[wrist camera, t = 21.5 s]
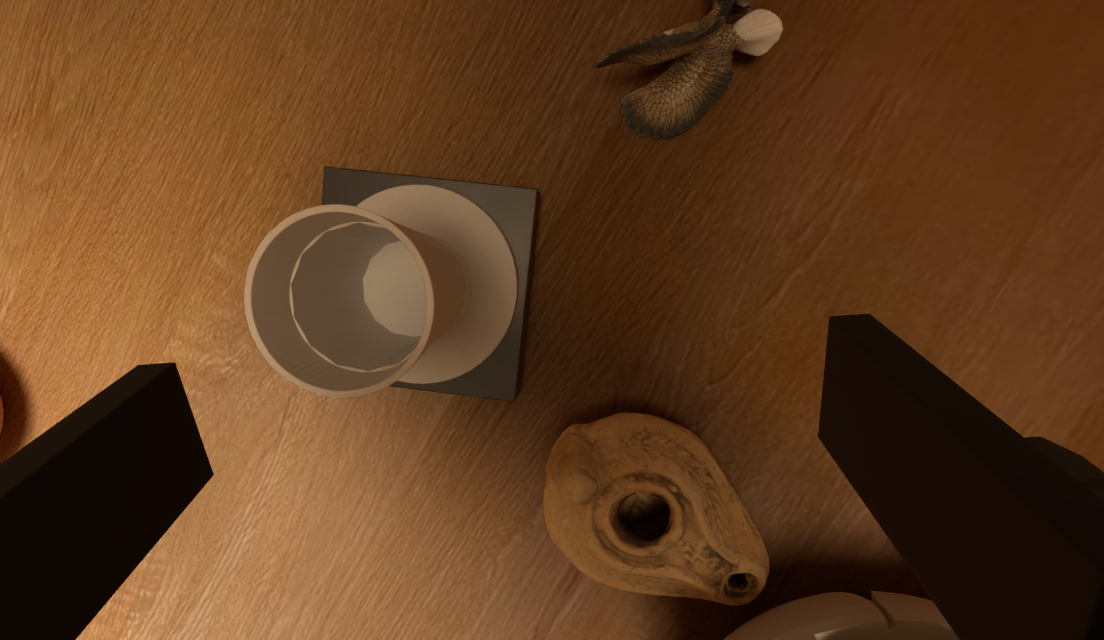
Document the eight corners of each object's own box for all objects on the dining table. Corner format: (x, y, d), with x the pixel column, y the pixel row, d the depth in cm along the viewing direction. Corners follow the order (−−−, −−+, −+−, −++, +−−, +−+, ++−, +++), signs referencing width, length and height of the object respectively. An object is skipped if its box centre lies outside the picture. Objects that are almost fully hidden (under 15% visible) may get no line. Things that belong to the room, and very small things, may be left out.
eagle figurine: (663, -56, 36) (564, 59, 36) (753, -82, 30) (637, 55, 30) (723, 49, 41) (636, 153, 40) (812, 44, 35) (712, 166, 34)
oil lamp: (725, 607, 42) (757, 691, 34) (517, 521, 42) (500, 585, 34) (794, 461, 40) (845, 512, 32) (579, 373, 40) (576, 402, 33)
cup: (339, 331, 38) (226, 368, 26) (370, 204, 37) (266, 181, 25) (465, 367, 38) (407, 421, 26) (498, 240, 37) (455, 234, 25)
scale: (540, 192, 39) (536, 187, 36) (519, 393, 41) (513, 404, 38) (333, 170, 40) (313, 164, 37) (320, 368, 42) (299, 377, 39)
